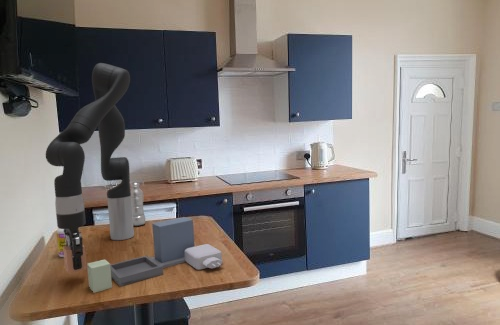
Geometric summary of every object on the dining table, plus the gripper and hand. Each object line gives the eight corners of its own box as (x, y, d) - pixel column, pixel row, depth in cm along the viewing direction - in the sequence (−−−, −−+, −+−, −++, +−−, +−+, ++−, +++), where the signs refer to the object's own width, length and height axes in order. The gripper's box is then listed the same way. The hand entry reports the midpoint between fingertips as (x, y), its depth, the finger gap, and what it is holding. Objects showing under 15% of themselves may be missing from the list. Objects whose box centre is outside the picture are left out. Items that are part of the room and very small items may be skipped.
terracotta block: (65, 268, 112) (63, 246, 111) (83, 264, 115) (81, 242, 114) (68, 274, 108) (66, 250, 107) (86, 269, 111) (84, 246, 110)
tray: (107, 273, 117) (106, 265, 117) (147, 262, 125) (146, 255, 124) (120, 286, 107) (119, 278, 106) (163, 274, 114) (162, 266, 114)
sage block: (89, 287, 107) (86, 263, 107) (107, 282, 110) (105, 259, 110) (93, 293, 103) (91, 268, 103) (112, 287, 106) (110, 263, 106)
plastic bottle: (148, 223, 177) (144, 181, 175) (142, 227, 171) (139, 183, 169) (134, 223, 178) (131, 181, 176) (128, 227, 171) (125, 184, 169)
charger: (204, 277, 111) (185, 262, 124) (231, 269, 116) (210, 256, 129) (203, 261, 111) (184, 248, 123) (230, 255, 115) (209, 243, 128)
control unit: (149, 260, 127) (147, 222, 126) (187, 250, 135) (184, 215, 134) (161, 268, 119) (159, 228, 118) (200, 257, 127) (198, 220, 126)
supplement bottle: (57, 259, 133) (53, 223, 131) (60, 253, 139) (57, 219, 138) (77, 256, 134) (74, 221, 133) (80, 250, 141) (77, 217, 140)
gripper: (90, 212, 106) (95, 270, 108) (78, 204, 118) (83, 256, 119) (60, 217, 102) (66, 277, 104) (52, 208, 113) (57, 262, 115)
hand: (75, 265), depth 111 cm, fingers closed on terracotta block, 5 cm apart
